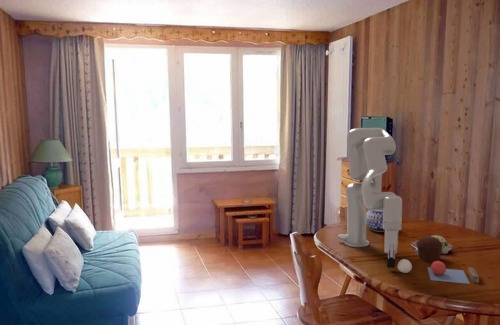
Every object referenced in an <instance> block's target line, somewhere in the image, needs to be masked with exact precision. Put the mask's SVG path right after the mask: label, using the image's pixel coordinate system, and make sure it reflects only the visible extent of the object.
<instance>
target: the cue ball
mask: <svg viewBox="0 0 500 325" xmlns="http://www.w3.org/2000/svg"><path fill="white" fill-rule="evenodd" d="M412 268H413V266H412V263H411V261H410V260H408V259H405V258H404V259H400V260H399V261H398V263H397V269H398V270H399V272H401V273H403V274H408V273H410V272H411V270H412Z"/></svg>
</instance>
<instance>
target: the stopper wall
mask: <svg viewBox="0 0 500 325" xmlns="http://www.w3.org/2000/svg"><path fill="white" fill-rule="evenodd" d="M467 274H468V276H469V278H470V280H471V281H472V283H474V284H479V283H480V275H479V274H478V273H477V270H476V269H475V267H468V269H467Z"/></svg>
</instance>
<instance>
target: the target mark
mask: <svg viewBox="0 0 500 325" xmlns="http://www.w3.org/2000/svg"><path fill="white" fill-rule="evenodd" d="M427 272H428V275H429V278H430V279H429V280H430V281H435V282H445V283H455V284H465V285H470V284H471V282H470V281H469V279H468V277H467V275H466V273H465V271H464V270H461V269H451V268H450V269H449V268H446V271H445V273H444V274H442V275H436V274H434V273H433V272H432V270H431V267H429V266H428V267H427Z"/></svg>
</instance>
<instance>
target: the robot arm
mask: <svg viewBox="0 0 500 325" xmlns="http://www.w3.org/2000/svg"><path fill="white" fill-rule="evenodd" d="M346 144H347V149H348V152H349V154H348V155H349V156H348V158H349V159H348V160H349V161H348V164H349V165H348V173H349V174H348V175H349V178H350V179H351V180H352V181H361V182H352V183H349V184H348V185H346V187H345V196H346V205H347V206H346V208H347V209H346V212H347V216H346V218H347V219H346V223H347V224H346V233H345V234H338V236H337V237H338V239H339V240H343V244H344V245H345V246H348V247H350V248H365V247H368V246H370V241H369V240H367V224H366V220H367V212H368V211H369V210H381V209H383V229H385V232H384V240H383V242H384V247H383V248H384V249H383V250H384V253H385V254H387V257H386V268H391V269H395V268H396V255H397V253H398V244H399V231H401V230H402V219H403V218H402V215H403V212H402V211H403V199H402V197H401V196H399V195H396V194H395V192H392V191H382V177H383V176H382V175H383V174H384V173H385V172H387V171H388V165H387V160H386V157H385V156H390V155H393V154H394V153H395V151H396V150H397V149H396V148H397V146H396V141H395V140H394V138H393V136H391V134H389V133H388V132H387V131H386V130H385V129H384V128H382V127H356V128H352V129H350V130H349V131H348V132H347V135H346ZM367 210H368V211H367Z"/></svg>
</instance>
